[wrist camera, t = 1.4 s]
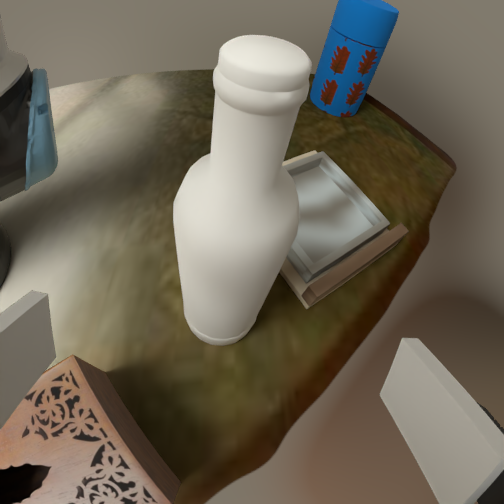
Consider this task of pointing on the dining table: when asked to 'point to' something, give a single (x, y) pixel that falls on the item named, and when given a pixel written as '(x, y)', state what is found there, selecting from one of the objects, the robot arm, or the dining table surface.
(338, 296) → the dining table surface
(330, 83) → the thermos
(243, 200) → the bottle
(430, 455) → the robot arm
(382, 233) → the tray
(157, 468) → the tissue box cover
